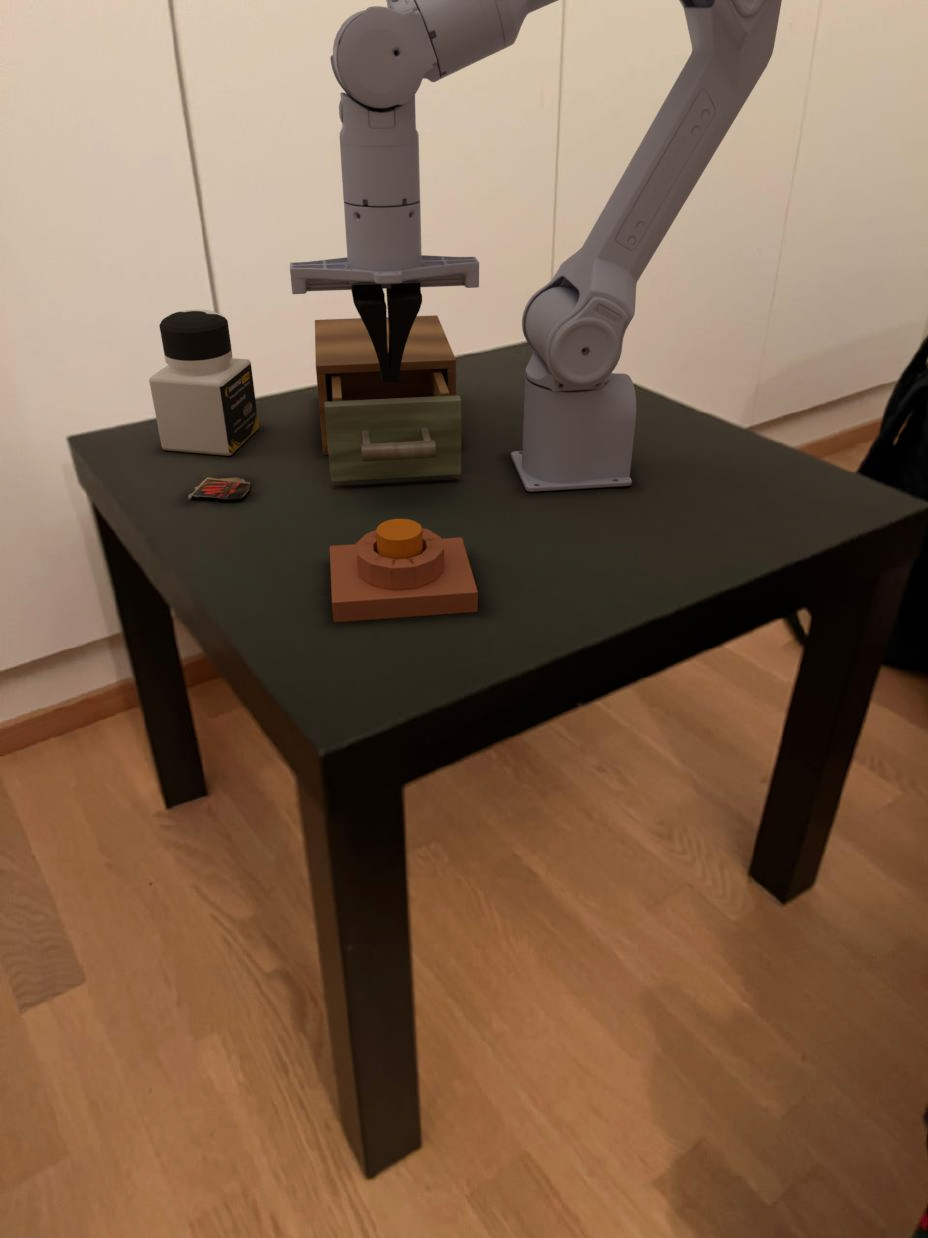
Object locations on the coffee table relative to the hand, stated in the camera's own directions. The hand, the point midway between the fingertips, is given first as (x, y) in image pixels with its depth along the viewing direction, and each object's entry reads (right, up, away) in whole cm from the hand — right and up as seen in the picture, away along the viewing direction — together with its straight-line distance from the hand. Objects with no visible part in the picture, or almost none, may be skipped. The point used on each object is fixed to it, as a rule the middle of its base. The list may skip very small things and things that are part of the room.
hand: (389, 378), depth 77 cm
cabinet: (-2, 0, +17) cm, 17 cm away
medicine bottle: (-18, -3, +14) cm, 23 cm away
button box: (+2, -18, -9) cm, 20 cm away
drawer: (0, -5, +8) cm, 9 cm away
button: (+2, -15, -11) cm, 19 cm away
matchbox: (-15, -9, +4) cm, 18 cm away
